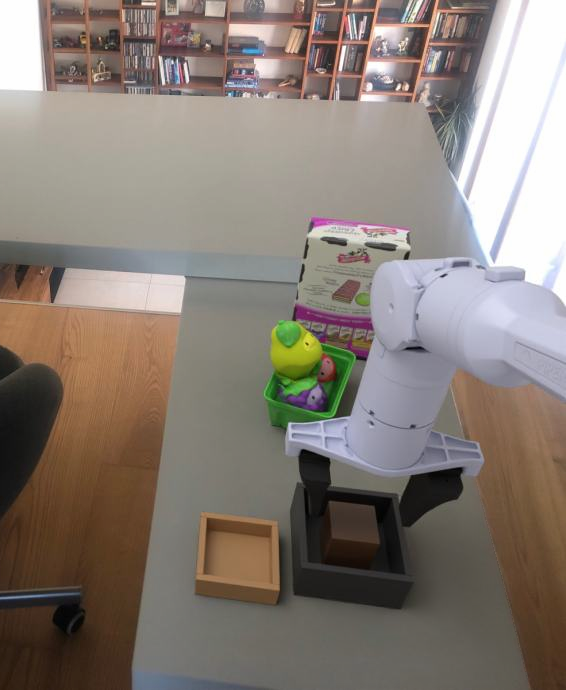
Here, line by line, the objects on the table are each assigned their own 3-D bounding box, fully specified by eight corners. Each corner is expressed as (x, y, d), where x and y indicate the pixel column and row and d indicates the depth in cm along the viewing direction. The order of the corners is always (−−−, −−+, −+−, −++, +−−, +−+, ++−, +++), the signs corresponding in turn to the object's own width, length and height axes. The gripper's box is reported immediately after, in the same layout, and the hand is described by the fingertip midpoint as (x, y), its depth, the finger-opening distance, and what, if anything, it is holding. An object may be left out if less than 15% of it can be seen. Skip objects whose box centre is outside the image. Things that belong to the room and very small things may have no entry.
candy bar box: (378, 338, 88) (412, 226, 78) (377, 363, 85) (413, 250, 74) (289, 323, 91) (310, 213, 80) (285, 347, 87) (306, 235, 77)
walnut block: (367, 575, 63) (380, 543, 59) (321, 569, 63) (332, 538, 60) (362, 537, 66) (374, 505, 62) (318, 532, 66) (328, 500, 63)
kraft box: (275, 605, 61) (279, 590, 60) (194, 594, 62) (196, 579, 61) (274, 536, 67) (278, 520, 65) (199, 526, 68) (201, 511, 66)
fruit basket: (324, 451, 74) (346, 375, 67) (245, 424, 78) (257, 348, 70) (348, 385, 82) (370, 309, 75) (275, 363, 85) (289, 289, 78)
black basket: (400, 609, 61) (414, 582, 58) (293, 594, 62) (301, 567, 59) (386, 521, 68) (397, 493, 65) (289, 510, 69) (297, 481, 66)
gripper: (488, 374, 53) (437, 485, 62) (295, 356, 55) (272, 466, 64) (513, 442, 48) (453, 553, 57) (299, 420, 50) (273, 530, 59)
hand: (358, 512), depth 60 cm, fingers open, 7 cm apart
